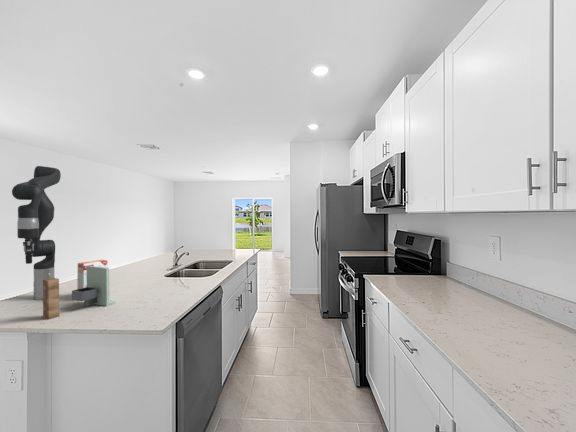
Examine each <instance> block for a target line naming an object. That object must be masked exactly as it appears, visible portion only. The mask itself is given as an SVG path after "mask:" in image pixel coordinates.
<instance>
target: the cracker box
mask: <svg viewBox="0 0 576 432" xmlns="http://www.w3.org/2000/svg"><path fill="white" fill-rule="evenodd" d="M87 266H96V267H104V268H108V259H107V260H106V259H97V260H91V261H90V260H89V261H83V262H82V261H81V262H78V263H77V277H76V278H77V285H76V286H77V289H81V288H85V287H87ZM77 289H76V290H77Z"/></svg>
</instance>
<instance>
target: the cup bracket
mask: <svg viewBox="0 0 576 432" xmlns="http://www.w3.org/2000/svg"><path fill="white" fill-rule="evenodd" d="M71 300H74V301H77V302H84V306H85V307H86V306H90V305H93V304H94V305H97V306H98V305H99V306H103V307H109V306H112V305H115V304H117V303H116V300H110V267H107V268H104V267H96V266H87V287H85V288H81V289H73V290H71Z"/></svg>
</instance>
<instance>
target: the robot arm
mask: <svg viewBox="0 0 576 432" xmlns="http://www.w3.org/2000/svg"><path fill="white" fill-rule="evenodd" d="M61 177H62V175H61V171H60V170H59V168H56V167H51V166H50V167H49V166H43V165H37V166H35V168H34V171H33V177H32V178H30V179H29V180H27V181H25V182H20V183H17V184H16V185H14V186H13V187H12V190H11V194H12V197H13V198H14V199H16V200H20V201H30V202H29V203H28V204H23V205H19V206H18V207H17V222H16V223H17V225H16V226H17V227H16V228H17V238H18V239H24V241H22V247H23V252H24V255H25V264H26V265H29V264H33V258H37V257H38V258H39V257H44V258H43V259H42V260H40V261H37V262H35V263H34V264H33V299H34V300H36V301H38V300H40V301H41V300H43V280H45V279H50V278H56V277H55V261H56V242H55V241H54V240H53V239H41V237H42V234H43V233H44V231H45V230H46V228H48V226H49V225H50V224H52V221H53V220H54V218H55V206H54V203H53V202H52V201H51V200H50V198H49V196H48V195H47V193H46V191H45V189H47V188H50V187H52V186H54V185H57V184H59V183H60V180H61Z"/></svg>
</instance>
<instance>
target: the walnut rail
mask: <svg viewBox="0 0 576 432" xmlns="http://www.w3.org/2000/svg"><path fill="white" fill-rule="evenodd" d="M42 317H43V319H46V320H51V319H55V318H58V317H60V279H59V278H58V277H57V278H56V277H55V278H50V279H45V280H43V299H42Z"/></svg>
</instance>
